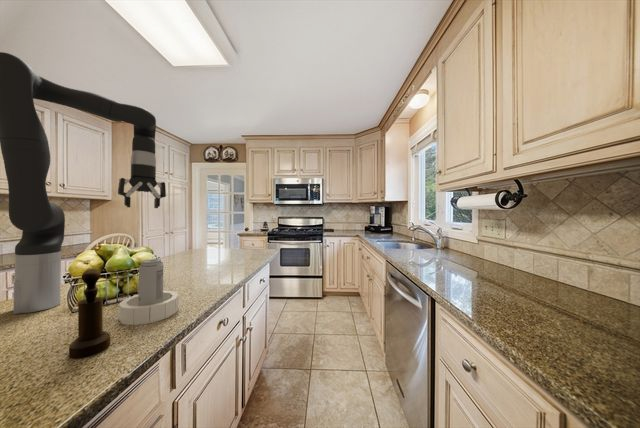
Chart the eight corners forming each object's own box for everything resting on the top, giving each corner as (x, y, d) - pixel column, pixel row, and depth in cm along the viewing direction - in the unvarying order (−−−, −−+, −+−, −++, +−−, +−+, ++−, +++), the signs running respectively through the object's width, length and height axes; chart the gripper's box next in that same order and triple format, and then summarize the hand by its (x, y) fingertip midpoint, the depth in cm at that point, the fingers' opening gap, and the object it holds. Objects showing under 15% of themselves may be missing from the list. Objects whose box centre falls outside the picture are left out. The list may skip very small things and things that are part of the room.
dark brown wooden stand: (78, 345, 54) (79, 267, 53) (114, 339, 56) (115, 265, 56) (61, 362, 48) (62, 274, 47) (103, 354, 50) (104, 271, 50)
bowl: (125, 330, 61) (126, 312, 60) (115, 314, 70) (115, 299, 70) (184, 313, 71) (184, 298, 71) (168, 301, 80) (169, 288, 80)
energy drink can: (143, 307, 73) (144, 259, 72) (165, 305, 74) (166, 258, 74) (134, 315, 67) (135, 263, 67) (158, 313, 68) (159, 262, 68)
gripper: (121, 160, 80) (120, 207, 80) (168, 167, 91) (167, 208, 91) (117, 162, 85) (116, 207, 85) (162, 168, 96) (161, 208, 96)
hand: (142, 207), depth 88 cm, fingers open, 8 cm apart
